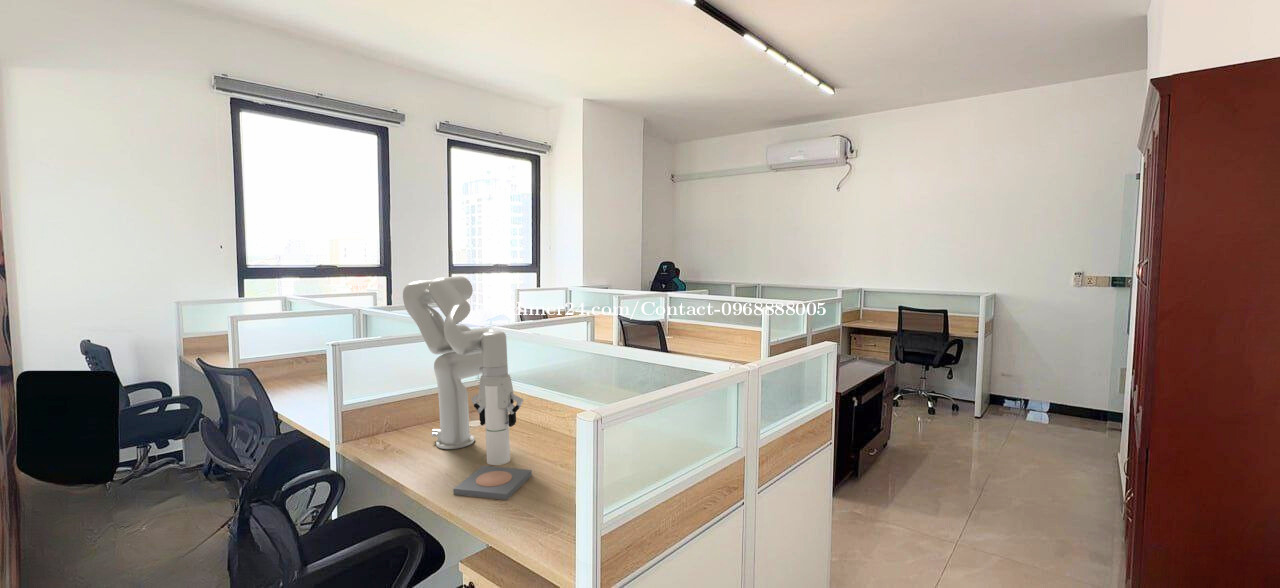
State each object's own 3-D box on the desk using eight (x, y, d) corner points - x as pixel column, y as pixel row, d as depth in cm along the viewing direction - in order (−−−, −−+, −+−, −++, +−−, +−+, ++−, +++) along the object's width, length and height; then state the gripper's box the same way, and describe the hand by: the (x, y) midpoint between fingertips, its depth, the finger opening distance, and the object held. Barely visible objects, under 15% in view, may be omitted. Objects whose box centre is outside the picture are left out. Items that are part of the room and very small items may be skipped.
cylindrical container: (514, 457, 177) (511, 381, 174) (501, 466, 170) (499, 387, 167) (495, 455, 179) (492, 379, 177) (482, 463, 172) (479, 385, 170)
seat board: (453, 494, 151) (453, 488, 151) (482, 470, 167) (482, 464, 167) (506, 499, 148) (506, 493, 148) (531, 475, 163) (531, 469, 163)
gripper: (464, 373, 170) (466, 427, 171) (515, 374, 166) (518, 430, 167) (476, 367, 177) (479, 419, 179) (526, 369, 173) (528, 422, 175)
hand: (498, 424), depth 173 cm, fingers open, 9 cm apart
